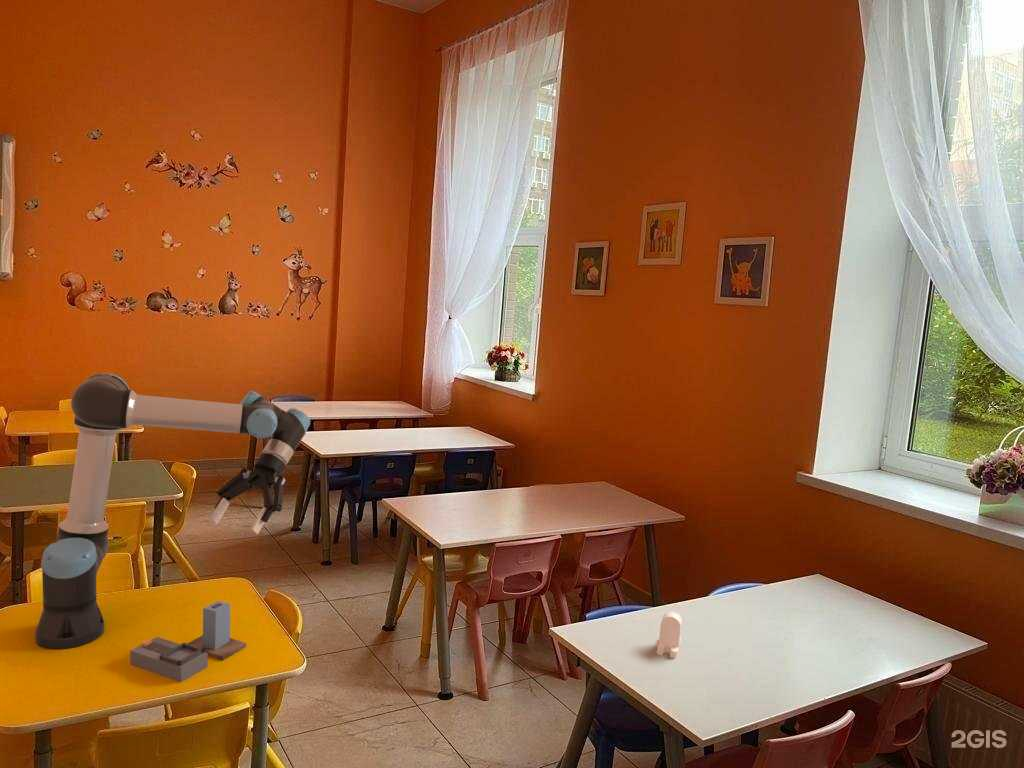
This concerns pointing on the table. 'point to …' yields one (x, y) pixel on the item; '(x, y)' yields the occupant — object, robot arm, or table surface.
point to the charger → (216, 625)
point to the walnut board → (220, 648)
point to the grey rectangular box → (169, 658)
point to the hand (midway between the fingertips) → (233, 526)
